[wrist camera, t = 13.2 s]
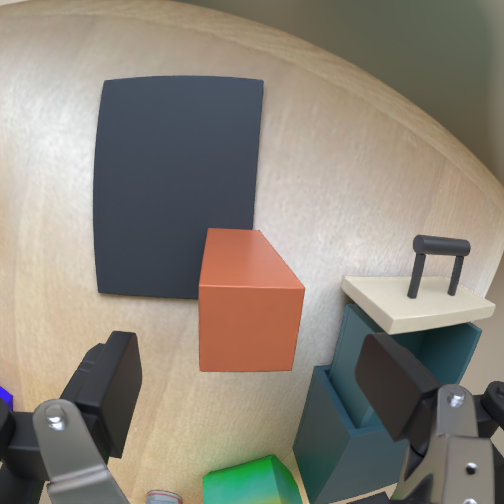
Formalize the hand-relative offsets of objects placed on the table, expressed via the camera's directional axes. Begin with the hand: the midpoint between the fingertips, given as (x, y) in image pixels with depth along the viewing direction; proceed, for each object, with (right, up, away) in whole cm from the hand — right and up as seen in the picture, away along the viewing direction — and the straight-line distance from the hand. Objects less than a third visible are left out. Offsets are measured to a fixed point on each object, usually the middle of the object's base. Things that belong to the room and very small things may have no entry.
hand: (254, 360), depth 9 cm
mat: (-6, +9, +12) cm, 16 cm away
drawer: (+14, -3, +17) cm, 22 cm away
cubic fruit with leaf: (0, -28, +23) cm, 36 cm away
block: (-2, +3, +13) cm, 14 cm away
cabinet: (+13, -15, +21) cm, 29 cm away
